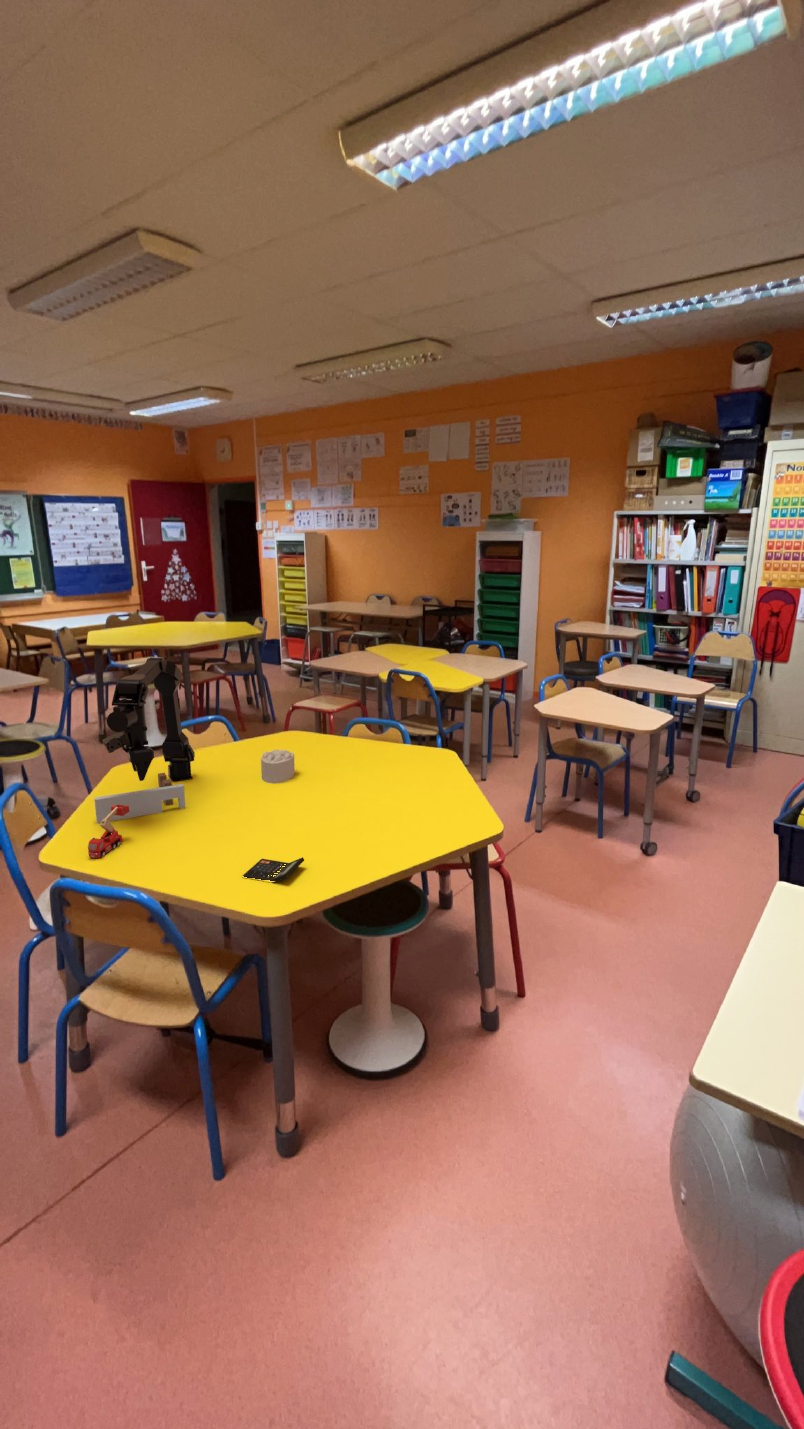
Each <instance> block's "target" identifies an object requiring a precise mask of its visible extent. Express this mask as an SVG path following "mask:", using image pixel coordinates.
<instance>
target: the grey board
mask: <svg viewBox="0 0 804 1429" xmlns="http://www.w3.org/2000/svg"><path fill="white" fill-rule="evenodd" d="M185 798H186V797H185V785H184V784H183V783H181V784H180V783H178V784H174V785H173V784H172V786H166V787H160V788H159V787H154V788H149V789H142V790H136V791H128V792H121V793H115V794H110V795H102V796H97V797H94V798H93V800H94V809H95V817H96V818H95V819H96V823H97V824H100V823H101V821H102V819H105V818H106V817H107V816H108V815H109V814H110V813H111V812H112V811H111V806H115V805H126V806H129V812H128V813H127V814H125V815H124V816H119V815H114V816H113V817H112V818H111V819H110V820H109V822H112V821H120V820H127V819H131V818H136V817H137V818H138V817H143V816H148V815H153V814H154V813H155V814H159V813H160V814H161V813H163V812H164V810H163V800H169V799H173V800H174V799H177V802H178V809H180V810H183V809H182V808H184V809H186V799H185ZM155 814H154V815H155ZM142 815H143V816H142Z"/></svg>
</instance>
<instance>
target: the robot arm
mask: <svg viewBox="0 0 804 1429" xmlns="http://www.w3.org/2000/svg"><path fill="white" fill-rule="evenodd" d="M181 679H182V671H181V669H180V668H179V667H178V666H177V665H176V664H174V663H172V662H169V661H167V659H166V658H164V657H154V656H153V657H148V658H147V659H146V661H145V663H143V665H142V666H140V667H139V669H138V670H137V671H135V672H134V674H131V675H125V676H124V677H122V678H120V679H119V680H118V681H117V683H116V684H115V688H114V692H113V695H112V701H111V706H113V707H112V712H110V713H109V714H108V716H107V718H106V725H107V727H108V728H109V730H111V731H113V732H114V734H111V735H110V736H107V737H105V738H103V739H102V740H101V741H102V743H103V745H104V747H105V749H106V751H107V752H108V754H111V753H113V752H115V751H116V750H117V751H118V750H119V749H121V750H123V751H124V752H126V754H127V756H128V760H129V762H130V764H131V767H132V769H133V770H132V771H133V772H136V774H137V778H138V780H139V782H142V781H144V780H145V778H146V776H147V773H148V771H149V768H150V766H151V763H152V762H153V761H154V759H155V752H154V750H153V749H152V747H150V746H149V740H148V738H147V731H148V726H146V725H147V724H146V713H145V712H146V711H145V710H146V709H145V704H147V701H146V699H147V696H148V693H149V685H150V684H151V683H152V682H153V685H154V686H153V687H154V688H155V689H156V691H157V692H158V693H159V694H160V696H161V704H162V711H163V717H164V724H165V731H166V737H165V738H164V740H163V742H162V744H161V745H162V752H161V753H162V755H163V760H164V762H165V763H168V762H169V764H168V765H167V771H168V772H167V773H168V775H167V776H168V777H169V779H170V781H171V782H179V781H186V780H192V779H193V778H194V777H193V776H192V767H191V766H192V765H191V762H194V761H195V751H194V749H193V747H192V746H191V744H190V741H189V740H190V739H189V738H188V736H187V735H186V734H185V733H184V732H183V729H182V721H181V720H182V719H181V714H180V713H181V712H180V705H179V699H178V688H179V687H180V685H181V681H182V680H181Z"/></svg>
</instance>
